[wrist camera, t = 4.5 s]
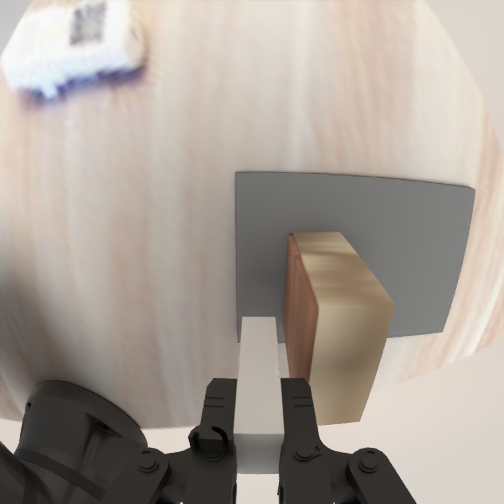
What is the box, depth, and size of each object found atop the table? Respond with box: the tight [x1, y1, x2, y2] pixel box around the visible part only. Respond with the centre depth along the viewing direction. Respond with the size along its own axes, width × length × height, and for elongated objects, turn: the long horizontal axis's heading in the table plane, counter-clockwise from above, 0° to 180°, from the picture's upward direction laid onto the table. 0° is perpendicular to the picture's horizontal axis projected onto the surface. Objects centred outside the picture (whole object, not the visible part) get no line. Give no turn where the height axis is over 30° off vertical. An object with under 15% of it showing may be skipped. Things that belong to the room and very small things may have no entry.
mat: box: [235, 172, 476, 343], centre depth 21 cm, size 17×12×1 cm
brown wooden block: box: [283, 231, 395, 426], centre depth 17 cm, size 3×7×9 cm, turn 0°
